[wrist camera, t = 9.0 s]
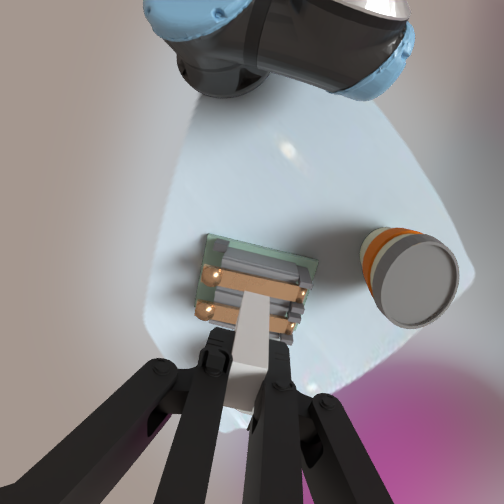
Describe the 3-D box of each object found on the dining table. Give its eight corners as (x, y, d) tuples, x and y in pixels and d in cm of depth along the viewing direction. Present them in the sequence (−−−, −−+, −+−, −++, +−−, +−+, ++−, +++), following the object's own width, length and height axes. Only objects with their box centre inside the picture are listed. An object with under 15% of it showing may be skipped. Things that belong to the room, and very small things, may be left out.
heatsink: (209, 233, 48) (197, 247, 40) (317, 260, 49) (326, 278, 41) (195, 303, 52) (183, 327, 44) (294, 327, 52) (298, 353, 44)
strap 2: (198, 296, 44) (196, 302, 42) (296, 317, 45) (298, 322, 43) (195, 312, 45) (193, 318, 43) (291, 332, 46) (292, 338, 44)
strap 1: (204, 262, 42) (203, 266, 41) (307, 284, 44) (309, 289, 42) (201, 279, 43) (199, 284, 41) (301, 301, 44) (303, 306, 43)
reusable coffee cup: (425, 232, 46) (474, 258, 32) (396, 295, 50) (433, 338, 35) (366, 205, 45) (405, 223, 31) (337, 275, 49) (361, 318, 35)
